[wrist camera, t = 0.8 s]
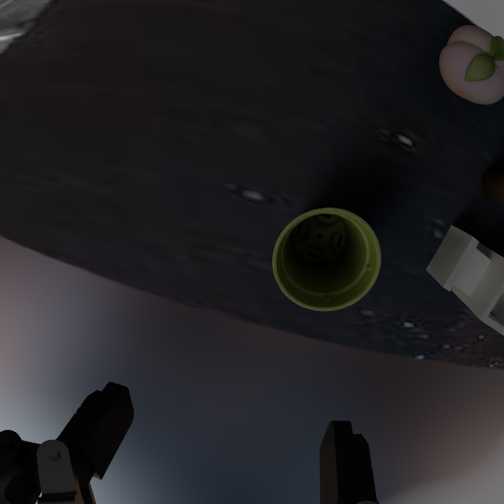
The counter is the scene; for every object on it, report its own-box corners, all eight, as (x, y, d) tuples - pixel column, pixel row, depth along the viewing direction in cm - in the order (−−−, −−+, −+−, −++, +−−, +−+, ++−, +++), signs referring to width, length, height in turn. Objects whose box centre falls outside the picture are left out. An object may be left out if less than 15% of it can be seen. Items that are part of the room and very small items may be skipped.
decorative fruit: (464, 123, 27) (513, 120, 18) (414, 76, 27) (454, 54, 17) (491, 74, 24) (538, 62, 15) (445, 29, 24) (484, 1, 14)
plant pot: (346, 282, 35) (361, 320, 27) (268, 265, 36) (262, 299, 27) (369, 205, 32) (394, 223, 24) (287, 184, 33) (286, 195, 24)
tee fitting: (453, 222, 31) (488, 240, 24) (523, 282, 32) (553, 305, 24) (424, 272, 34) (451, 301, 26) (498, 321, 34) (524, 350, 27)
